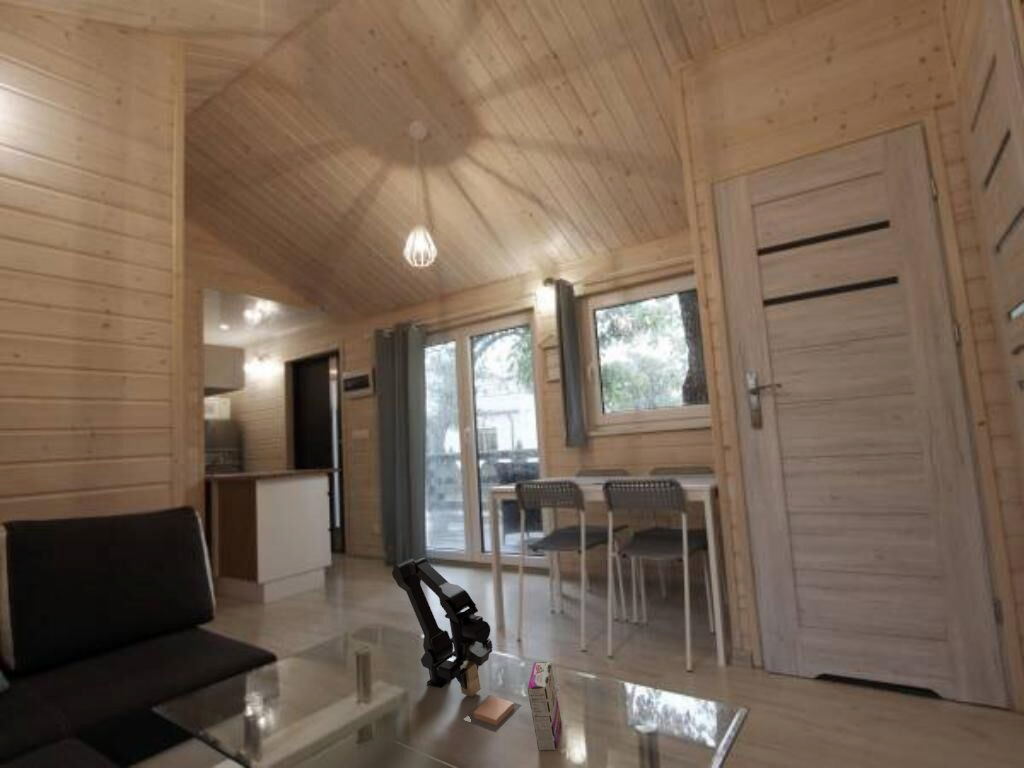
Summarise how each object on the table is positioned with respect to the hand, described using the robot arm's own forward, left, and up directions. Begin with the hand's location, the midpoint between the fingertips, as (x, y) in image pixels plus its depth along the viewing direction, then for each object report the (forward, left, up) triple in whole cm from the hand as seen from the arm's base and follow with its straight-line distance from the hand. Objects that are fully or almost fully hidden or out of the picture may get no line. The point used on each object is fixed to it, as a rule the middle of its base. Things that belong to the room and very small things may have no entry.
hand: (470, 684), depth 163 cm
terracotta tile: (+8, -4, -2) cm, 9 cm away
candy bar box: (+31, -5, -4) cm, 32 cm away
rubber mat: (+11, -4, -3) cm, 12 cm away
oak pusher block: (0, 0, -2) cm, 2 cm away
